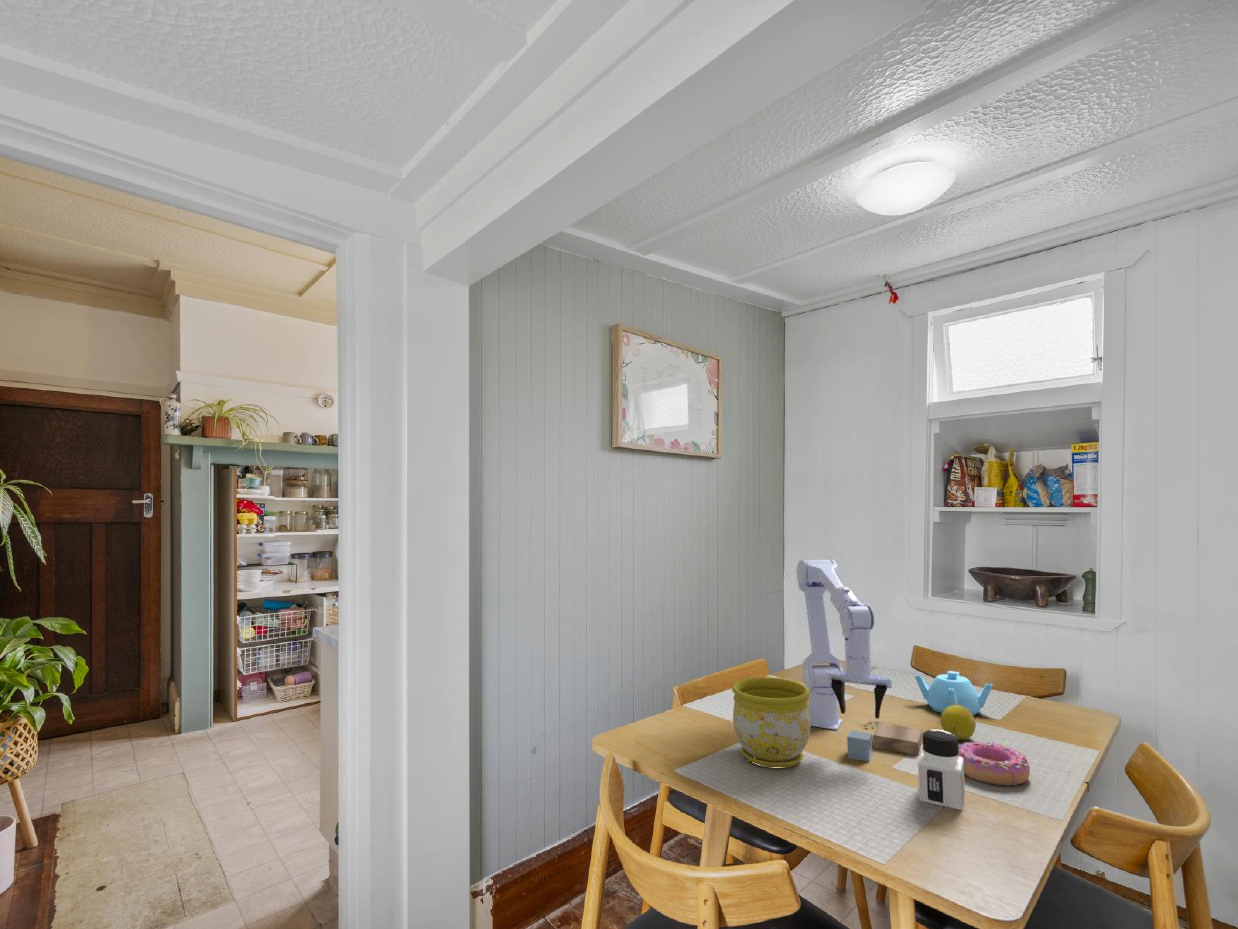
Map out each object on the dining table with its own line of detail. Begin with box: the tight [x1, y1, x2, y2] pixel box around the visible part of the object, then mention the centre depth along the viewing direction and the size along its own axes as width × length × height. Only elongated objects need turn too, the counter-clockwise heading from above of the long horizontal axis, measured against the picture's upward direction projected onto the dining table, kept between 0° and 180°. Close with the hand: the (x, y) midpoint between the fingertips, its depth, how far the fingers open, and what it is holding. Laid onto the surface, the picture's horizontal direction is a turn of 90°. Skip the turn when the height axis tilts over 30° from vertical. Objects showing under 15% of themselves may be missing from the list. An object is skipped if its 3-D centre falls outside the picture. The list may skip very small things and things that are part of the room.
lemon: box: [940, 705, 976, 741], centre depth 160 cm, size 11×8×8 cm
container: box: [917, 729, 966, 811], centre depth 128 cm, size 8×8×13 cm
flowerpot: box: [731, 676, 811, 768], centre depth 149 cm, size 18×18×16 cm
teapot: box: [914, 670, 993, 716], centre depth 181 cm, size 15×15×11 cm
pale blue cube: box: [846, 729, 874, 763], centre depth 149 cm, size 5×5×5 cm
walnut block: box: [872, 721, 923, 756], centre depth 156 cm, size 10×10×3 cm
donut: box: [958, 741, 1031, 786], centre depth 139 cm, size 14×14×5 cm
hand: (860, 714), depth 150 cm, fingers open, 7 cm apart
